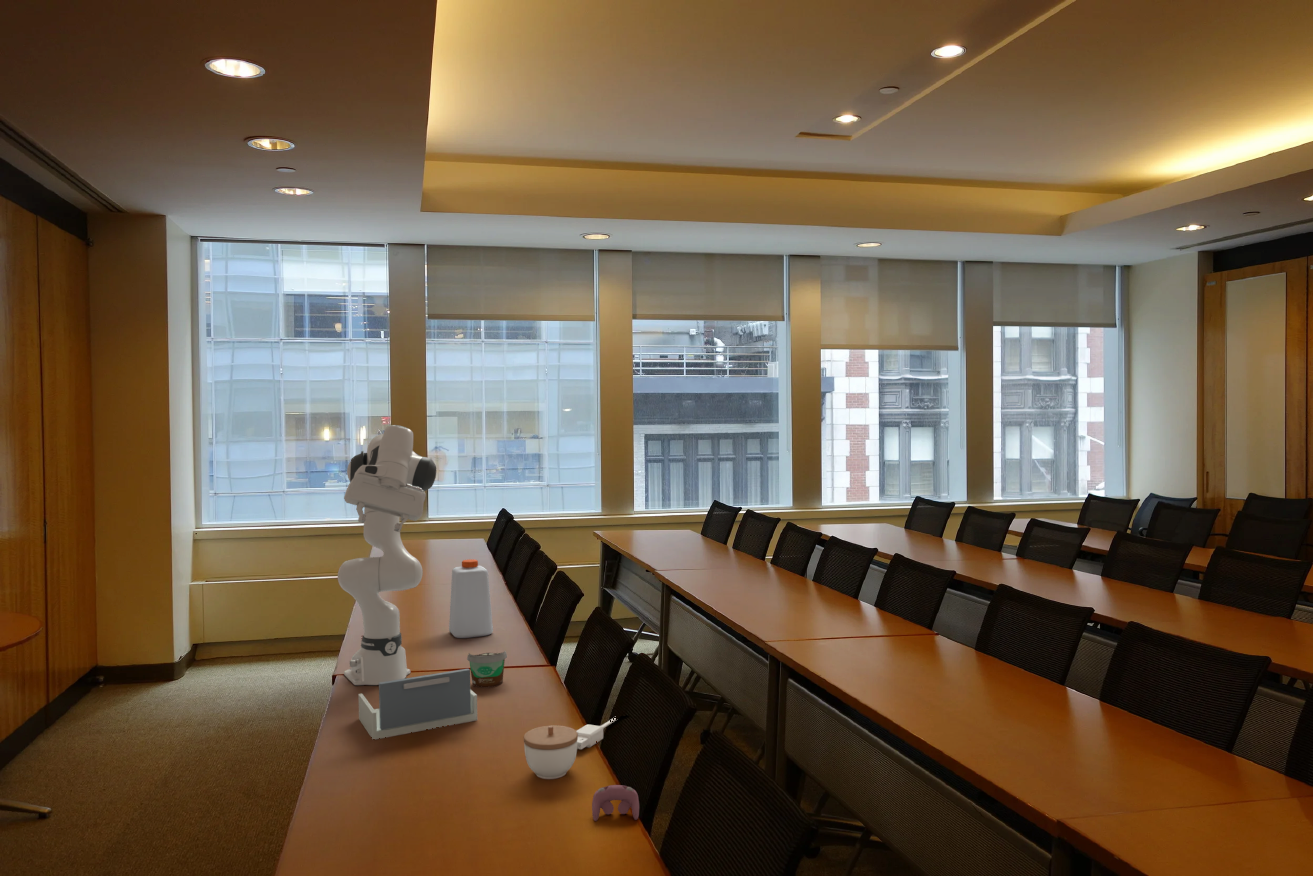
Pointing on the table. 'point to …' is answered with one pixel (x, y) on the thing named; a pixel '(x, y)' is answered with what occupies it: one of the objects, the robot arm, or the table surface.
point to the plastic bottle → (470, 601)
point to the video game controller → (615, 793)
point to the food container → (487, 669)
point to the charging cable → (590, 734)
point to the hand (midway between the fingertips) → (379, 526)
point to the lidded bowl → (550, 750)
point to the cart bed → (372, 724)
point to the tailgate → (424, 698)
